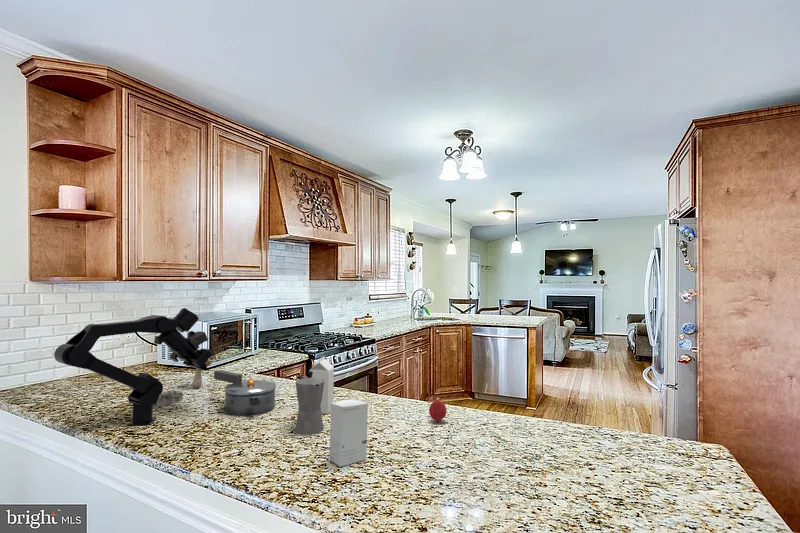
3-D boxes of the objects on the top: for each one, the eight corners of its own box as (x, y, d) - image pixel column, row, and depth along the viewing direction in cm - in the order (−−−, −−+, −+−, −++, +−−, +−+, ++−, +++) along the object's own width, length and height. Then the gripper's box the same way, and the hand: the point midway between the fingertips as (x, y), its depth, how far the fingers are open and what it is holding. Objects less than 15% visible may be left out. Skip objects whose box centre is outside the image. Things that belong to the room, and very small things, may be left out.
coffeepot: (332, 433, 133) (333, 373, 133) (302, 439, 127) (303, 377, 128) (312, 419, 146) (313, 365, 146) (285, 424, 140) (286, 368, 141)
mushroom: (197, 392, 179) (198, 355, 180) (179, 388, 185) (180, 353, 185) (215, 387, 187) (216, 352, 188) (198, 384, 193) (198, 350, 193)
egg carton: (160, 408, 158) (160, 396, 158) (147, 405, 162) (147, 394, 162) (186, 400, 168) (186, 390, 168) (173, 398, 171) (173, 387, 171)
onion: (445, 425, 140) (445, 400, 141) (427, 424, 142) (428, 399, 142) (447, 420, 146) (447, 396, 146) (430, 418, 147) (430, 394, 148)
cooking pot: (280, 415, 149) (280, 395, 150) (227, 422, 142) (227, 400, 142) (269, 397, 172) (269, 379, 172) (222, 402, 165) (223, 383, 165)
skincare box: (339, 468, 108) (340, 407, 108) (328, 459, 113) (329, 402, 113) (368, 459, 113) (368, 402, 114) (356, 452, 118) (356, 397, 118)
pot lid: (286, 387, 159) (286, 376, 160) (244, 398, 145) (244, 385, 145) (236, 376, 176) (236, 367, 177) (195, 385, 162) (195, 374, 162)
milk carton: (333, 408, 158) (334, 356, 159) (328, 414, 151) (329, 359, 152) (314, 407, 159) (315, 355, 159) (308, 413, 152) (309, 358, 152)
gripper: (208, 326, 150) (235, 354, 159) (179, 323, 161) (206, 349, 169) (185, 352, 143) (215, 379, 152) (156, 346, 154) (186, 373, 163)
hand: (206, 369), depth 159 cm, fingers closed
